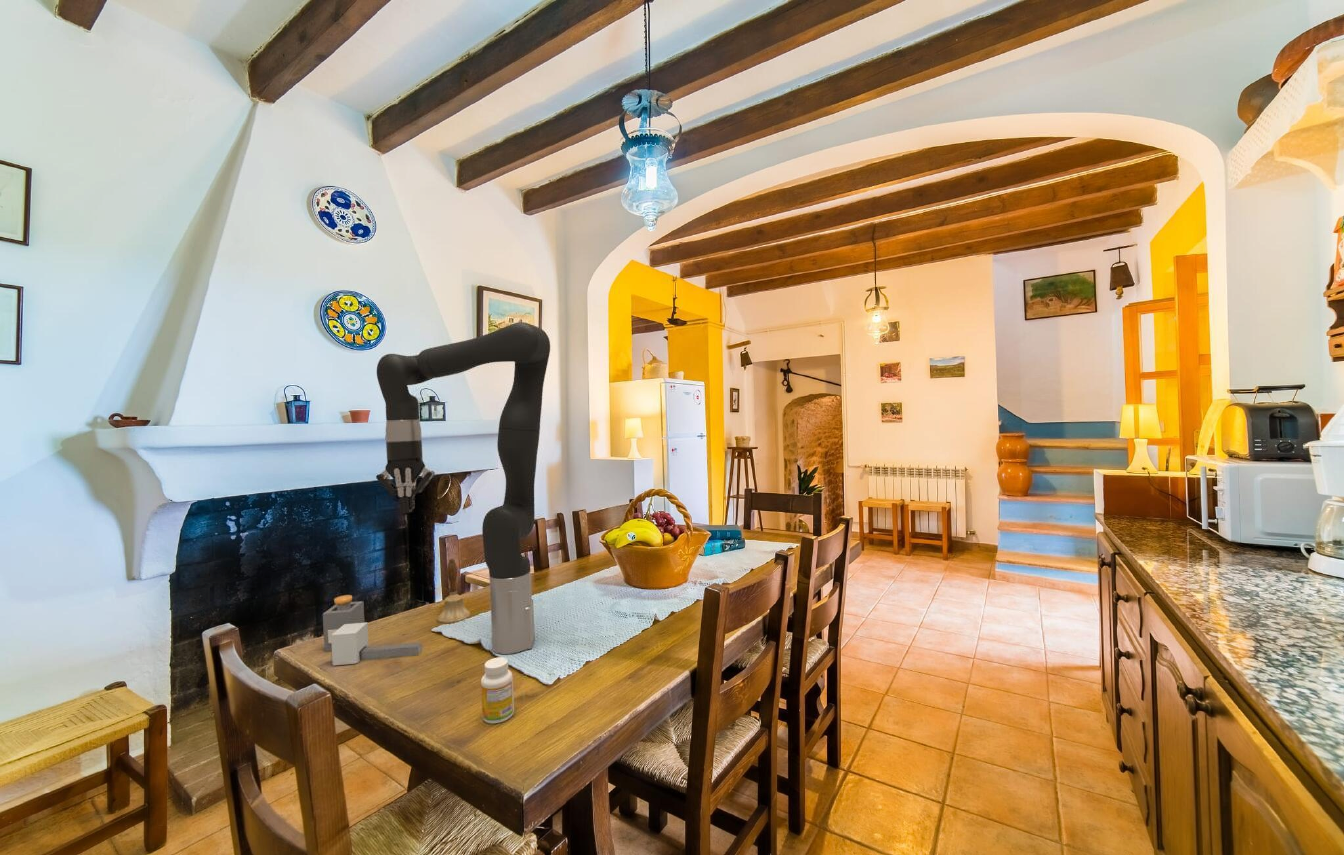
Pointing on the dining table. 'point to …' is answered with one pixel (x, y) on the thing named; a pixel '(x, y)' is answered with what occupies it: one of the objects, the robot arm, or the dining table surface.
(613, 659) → the dining table surface
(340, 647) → the carriage
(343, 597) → the ball
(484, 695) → the supplement bottle
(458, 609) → the hand bell
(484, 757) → the dining table surface
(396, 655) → the rail
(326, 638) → the grey square housing
